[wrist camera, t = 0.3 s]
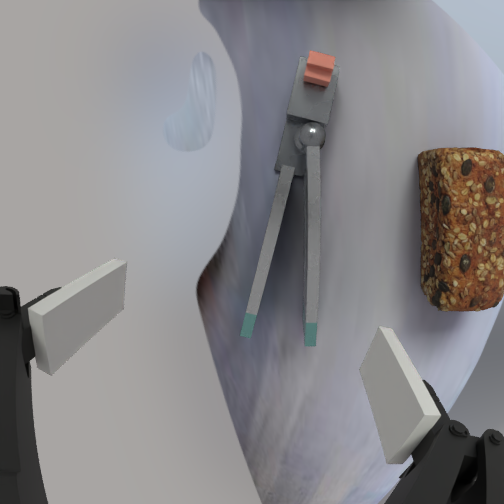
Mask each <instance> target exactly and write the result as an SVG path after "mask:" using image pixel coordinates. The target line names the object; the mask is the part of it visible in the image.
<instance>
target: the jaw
mask: <svg viewBox="0 0 504 504" xmlns="http://www.w3.org/2000/svg"><path fill="white" fill-rule="evenodd" d="M325 137H326V134H325V130H324V128H323V127H322V126H321V125H319V124H318V123H314V122H310V123H307V124H305V125H304V126H303V127H302V128H301V131H300V133H299V142H300V144H301V145H302V146H303V147H304V148H306V171H304V290H303V330H304V343H305V346H316V332H317V317H318V298H319V274H320V233H321V183H320V145H321V144H322V143H323V142H324V140H325Z"/></svg>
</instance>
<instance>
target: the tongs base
mask: <svg viewBox="0 0 504 504" xmlns="http://www.w3.org/2000/svg"><path fill="white" fill-rule="evenodd" d="M307 61H308V58H306V57H301V56H300V60H299V64H298V68H297V72H296V76H295V81H294V85H293V89H292V93H291V97H290V102H289V106H288V110H287V120H286V124H285V128H284V132H283V136H282V141H281V145H280V149H279V153H278V157H277V161H276V166H275V170H278V171H281V172H280V176H279V180H278V185H277V189H276V193H275V197H274V201H273V205H272V209H271V213H270V217H269V221H268V225H267V229H266V234H265V238H264V242H263V246H262V250H261V254H260V258H259V262H258V266H257V270H256V274H255V278H254V282H253V286H252V290H251V294H250V298H249V302H248V306H247V310H246V314H245V318H244V322H243V326H242V329H241V333H240V336H243V337H247V338H251V335H252V331H253V328H254V324H255V320H256V317H257V313H258V309H259V306H260V302H261V298H262V294H263V291H264V287H265V283H266V279H267V276H268V272H269V268H270V264H271V260H272V256H273V253H274V249H275V245H276V241H277V237H278V233H279V229H280V225H281V221H282V218H283V214H284V210H285V206H286V202H287V198H288V194H289V190H290V186H291V182H292V177H293V174H294V175H298V176H302V177H304V171H306V148H304V147H303V146H302V145H301V144H300V142H299V133H300V131H301V128H302V127H303V126H304V125H305V124H307V123H310V122H314V123H318V124H319V125H321V126H322V127H323V128H325V127H326V125H327V124H328V121H329V116H330V112H331V107H332V103H333V98H334V94H335V89H336V84H337V80H338V75H339V70H340V66H336V65H334V69H333V71H332V75H331V80H330V83H329V85H328V87H325V86H322V85H318V84H314V83H310V82H306V81H303V79H304V74H305V70H306V66H307ZM324 142H325V140H324ZM324 142H323V143H322V144H321V145H320V149H321V148H322V147H323V145H324Z"/></svg>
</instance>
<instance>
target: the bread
mask: <svg viewBox="0 0 504 504" xmlns="http://www.w3.org/2000/svg"><path fill="white" fill-rule="evenodd" d="M418 168H419V179H420V181H419V186H420V190H421V193H420V206H421V210H420V211H421V241H422V245H421V288H422V290H423V292H424V295H426V296H427V300H428V302H430V304H431V305H433V306H436V307H437V308H438V311H439V310H441V311H446V312H447V311H480V310H485V309H488V308H491V307H495V306H497V305H498V304H499V301H501V299H502V297H503V294H504V155H503V154H502V153H501V152H500V151H496V150H488V149H480V148H438V149H433V150H428V151H424V152H421V153H420V154H418Z"/></svg>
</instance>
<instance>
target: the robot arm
mask: <svg viewBox="0 0 504 504" xmlns="http://www.w3.org/2000/svg"><path fill="white" fill-rule="evenodd" d="M126 268H127V262H126V261H122V260H119V259H116V258H114V259H112V260H110V261H109V262H107V263H105V264H103V265H101V266H99V267H98V268H96V269H94V270H92V271H90V272H89V273H87V274H85V275H83V276H82V277H80V278H78V279H76V280H75V281H73V282H71V283H69V284H68V285H66V286H64V287H63V288H61V287H59V288H55V289H51V290H49V291H47V292H46V293H44V294H43V295H40V296H39V297H37V299H36V298H35V299H34V300H32V301H30V302H28V303H27V304H25V305H23V306H22V307H21V306H20V297H19V291H18V290H17V289H15V288H13V287H7V286H4V287H0V504H48V501H47V497H46V493H45V489H44V484H43V480H42V475H41V470H40V464H39V458H38V453H37V445H36V438H35V430H34V420H33V409H32V392H31V391H32V390H31V365H30V360H31V359H33V358H34V357H35V358H36V363H37V367H38V368H39V369H40V370H42V371H44V372H46V373H47V374H49V375H52V374H54V373H55V372H56V371H57V370H58V369H59V368H60V367H61V366H62V365H63V364H64V363H65V362H66V361H67V360H68V359H69V358H70V357H72V356H73V354H75V353H76V352H77V351H78V350H79V349H80V348H81V347H82V346H83V345H84V344H85V343H86V342H88V341H89V340H90V339H91V338H92V337H93V336H94V335H95V334H96V333H97V332H99V330H101V329H102V328H103V327H104V326H105V325H106V324H107V323H109V321H111V320H112V319H113V318H114V317H115V316H116V315H117V314H118V313H120V312H121V311H122V310H123V309H124V293H125V280H126ZM359 370H360V373H361V376H362V380H363V383H364V386H365V389H366V392H367V396H368V399H369V402H370V405H371V409H372V412H373V416H374V419H375V422H376V426H377V429H378V433H379V437H380V440H381V444H382V447H383V451H384V455H385V459H386V463H387V464H403V463H404V462H405V461H406V460H407V459H408V457H409V456H410V455H412V458H413V462H412V464H411V465H410V466H409V467H408V468H407V469H406V470H405V471H404V472H403V473H402V475H401V476H400V477H399V478H400V479H401V480H400V481H399V483H398V484H397V486H396V488H395V489H394V490H393V492H392V493H391V495H390V496H389V498H388V499H387V501H386V502H385V503H384V504H504V437H503V435H502V434H501V433H500V432H499V431H496V430H494V429H488V430H486V431H485V432H484V433H483V435H482V436H481V437H480V438H479V437H475V436H470V433H469V431H468V429H467V428H466V427H465V426H464V425H463V424H462V423H460V422H458V421H455V420H450V418H449V416H448V415H447V413H446V411H445V409H444V407H443V405H442V404H441V402H439V401H440V400H439V398H438V397H437V396H436V393H435V391H434V389H433V388H432V386H430V385H429V384H428V383H427V382H426V381H425V380H422V379H421V377H420V376H419V374H418V372H417V370H416V369H415V367H414V365H413V363H412V362H411V360H410V358H409V356H408V355H407V353H406V351H405V350H404V348H403V346H402V345H401V343H400V341H399V340H398V338H397V336H396V335H395V333H394V331H393V330H392V329H391V328H386V327H381V326H379V328H378V330H377V332H376V335H375V337H374V339H373V341H372V344H371V346H370V348H369V350H368V352H367V354H366V357H365V359H364V361H363V363H362V365H361V367H360V369H359ZM475 480H476V481H475Z"/></svg>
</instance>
